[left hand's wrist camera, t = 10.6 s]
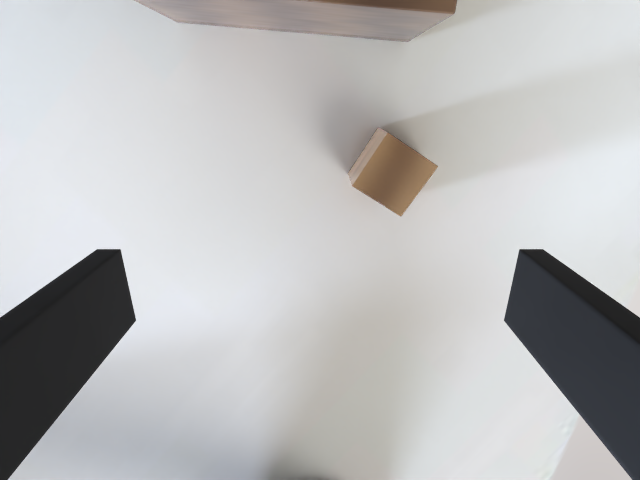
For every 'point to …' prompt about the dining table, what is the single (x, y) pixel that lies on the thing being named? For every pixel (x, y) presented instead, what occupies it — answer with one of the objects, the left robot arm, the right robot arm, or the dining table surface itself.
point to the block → (390, 172)
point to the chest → (314, 15)
